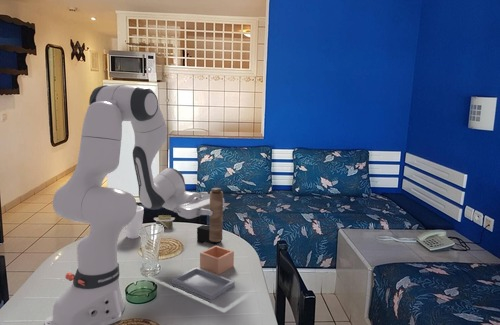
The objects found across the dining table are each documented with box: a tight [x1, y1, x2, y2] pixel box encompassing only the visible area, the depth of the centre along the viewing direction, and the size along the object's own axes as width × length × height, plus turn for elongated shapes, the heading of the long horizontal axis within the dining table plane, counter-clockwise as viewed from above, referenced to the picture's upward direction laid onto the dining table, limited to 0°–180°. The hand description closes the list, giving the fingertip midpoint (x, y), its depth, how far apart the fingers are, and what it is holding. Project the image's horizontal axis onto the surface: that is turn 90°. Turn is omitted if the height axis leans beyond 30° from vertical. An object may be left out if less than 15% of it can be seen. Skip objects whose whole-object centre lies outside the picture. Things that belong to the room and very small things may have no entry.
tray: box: [171, 266, 236, 303], centre depth 135 cm, size 12×18×2 cm, turn 54°
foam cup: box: [124, 205, 145, 239], centre depth 179 cm, size 10×9×13 cm
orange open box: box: [199, 245, 235, 276], centre depth 148 cm, size 9×9×7 cm
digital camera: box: [196, 224, 222, 246], centre depth 174 cm, size 10×5×7 cm, turn 60°
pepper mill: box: [209, 187, 224, 242], centre depth 144 cm, size 5×5×19 cm
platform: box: [153, 215, 176, 229], centre depth 191 cm, size 12×18×7 cm, turn 94°
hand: (217, 211), depth 143 cm, fingers closed on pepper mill, 5 cm apart
